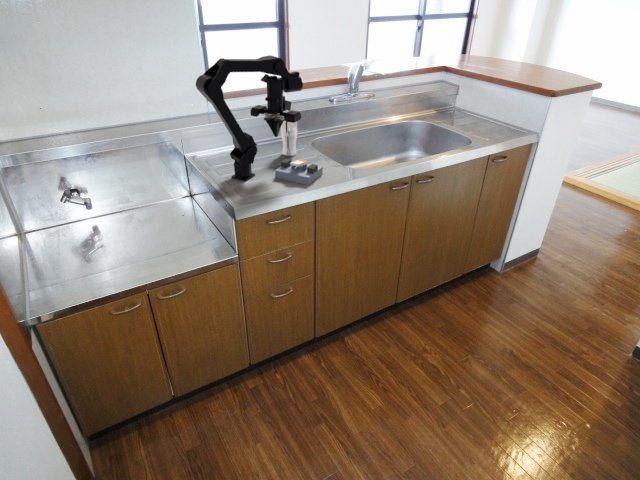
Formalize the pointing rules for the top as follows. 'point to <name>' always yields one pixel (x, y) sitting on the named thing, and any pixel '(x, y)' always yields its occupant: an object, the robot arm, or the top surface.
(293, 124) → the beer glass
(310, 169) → the plug right
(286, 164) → the plug left
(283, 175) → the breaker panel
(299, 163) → the breaker paddle
